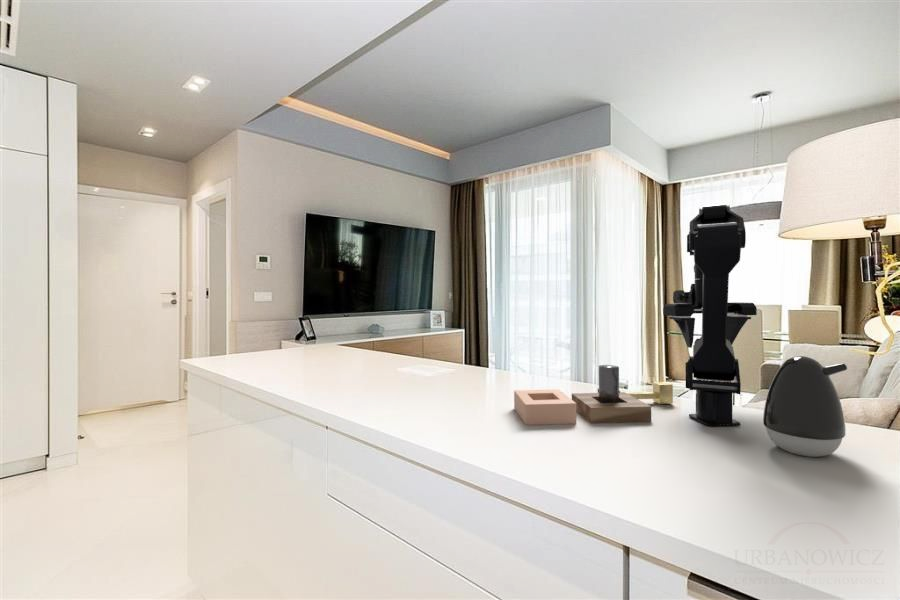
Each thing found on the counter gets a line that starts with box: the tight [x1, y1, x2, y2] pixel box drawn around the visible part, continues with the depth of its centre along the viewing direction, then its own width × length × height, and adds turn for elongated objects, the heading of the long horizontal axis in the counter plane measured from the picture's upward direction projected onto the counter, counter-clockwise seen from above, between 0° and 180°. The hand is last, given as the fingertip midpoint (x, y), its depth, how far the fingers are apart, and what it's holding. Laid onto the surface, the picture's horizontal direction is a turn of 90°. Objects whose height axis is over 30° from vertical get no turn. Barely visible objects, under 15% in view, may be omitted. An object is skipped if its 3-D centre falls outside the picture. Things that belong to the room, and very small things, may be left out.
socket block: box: [571, 388, 652, 424], centre depth 92 cm, size 15×12×3 cm
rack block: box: [513, 388, 577, 426], centre depth 91 cm, size 12×10×4 cm
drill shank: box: [598, 364, 620, 403], centre depth 91 cm, size 4×4×10 cm
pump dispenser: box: [762, 355, 848, 458], centre depth 69 cm, size 10×10×15 cm
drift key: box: [626, 381, 674, 405], centre depth 99 cm, size 3×11×4 cm, turn 92°
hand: (709, 347), depth 99 cm, fingers open, 9 cm apart
